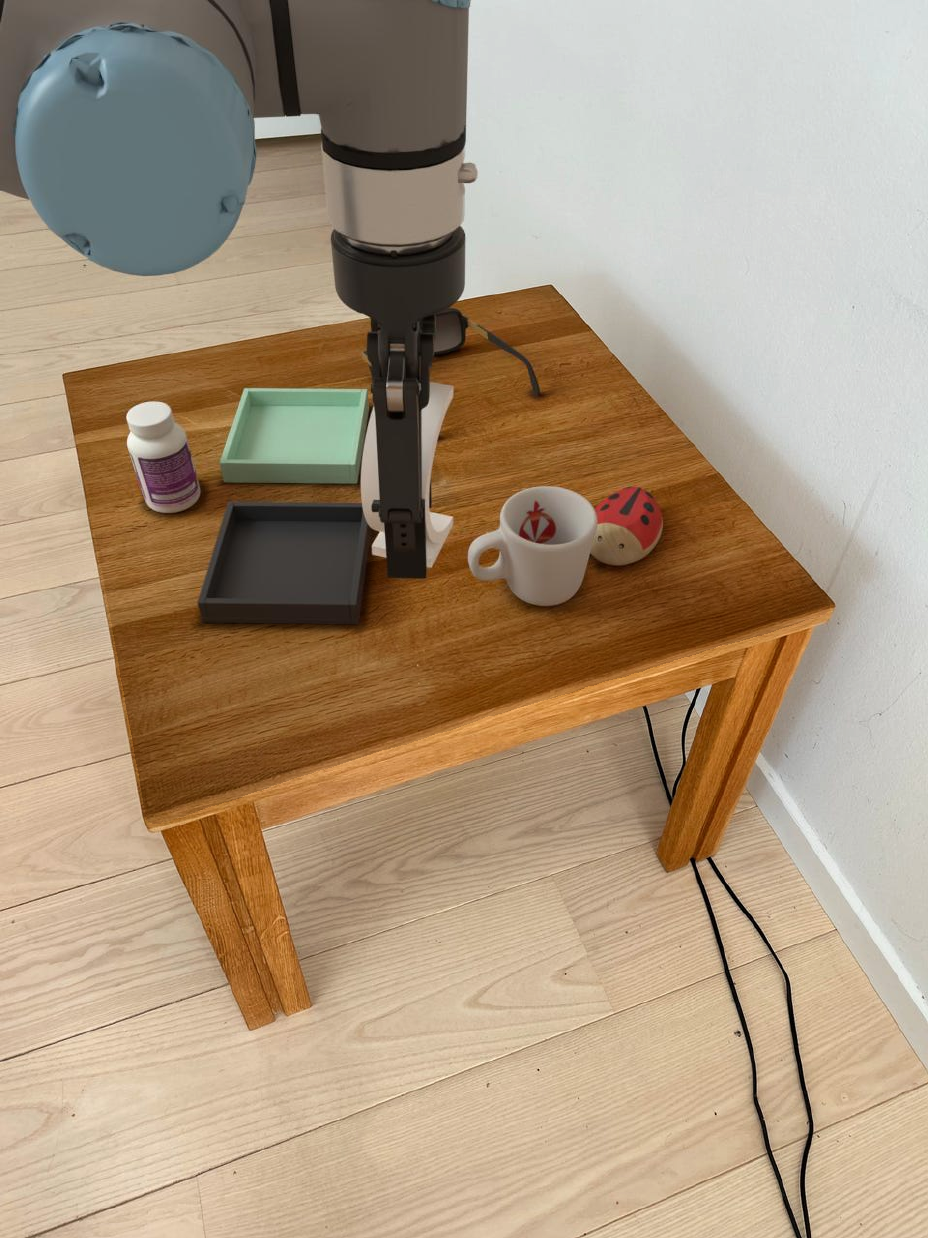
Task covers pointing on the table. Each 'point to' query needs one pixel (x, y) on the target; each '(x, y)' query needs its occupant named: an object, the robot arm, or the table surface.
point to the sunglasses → (454, 335)
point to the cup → (539, 545)
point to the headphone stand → (431, 426)
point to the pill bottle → (161, 458)
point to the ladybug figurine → (626, 526)
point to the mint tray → (296, 436)
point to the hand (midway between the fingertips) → (410, 538)
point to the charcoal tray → (287, 564)
